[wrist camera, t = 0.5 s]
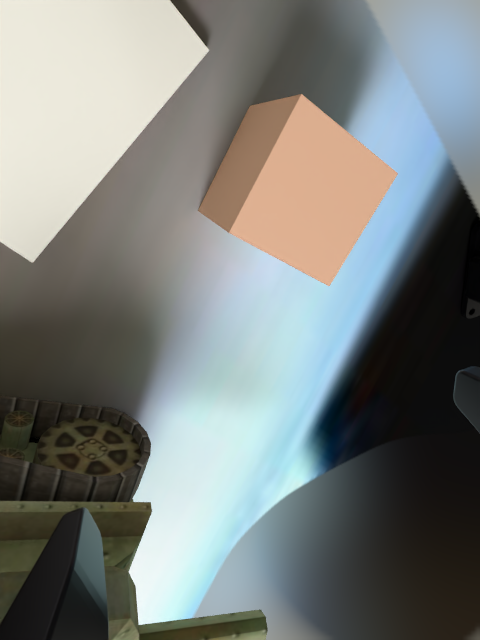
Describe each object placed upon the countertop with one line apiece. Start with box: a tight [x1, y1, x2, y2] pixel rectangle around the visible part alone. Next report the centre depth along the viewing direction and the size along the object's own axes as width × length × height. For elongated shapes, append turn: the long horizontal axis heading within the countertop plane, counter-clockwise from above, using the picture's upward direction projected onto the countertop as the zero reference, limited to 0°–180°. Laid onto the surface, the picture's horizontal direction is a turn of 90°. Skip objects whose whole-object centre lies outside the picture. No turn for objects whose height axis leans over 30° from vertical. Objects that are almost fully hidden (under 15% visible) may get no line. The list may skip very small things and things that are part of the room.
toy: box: [0, 396, 267, 640], centre depth 17 cm, size 10×18×10 cm, turn 68°
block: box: [198, 94, 398, 286], centre depth 16 cm, size 5×5×5 cm
